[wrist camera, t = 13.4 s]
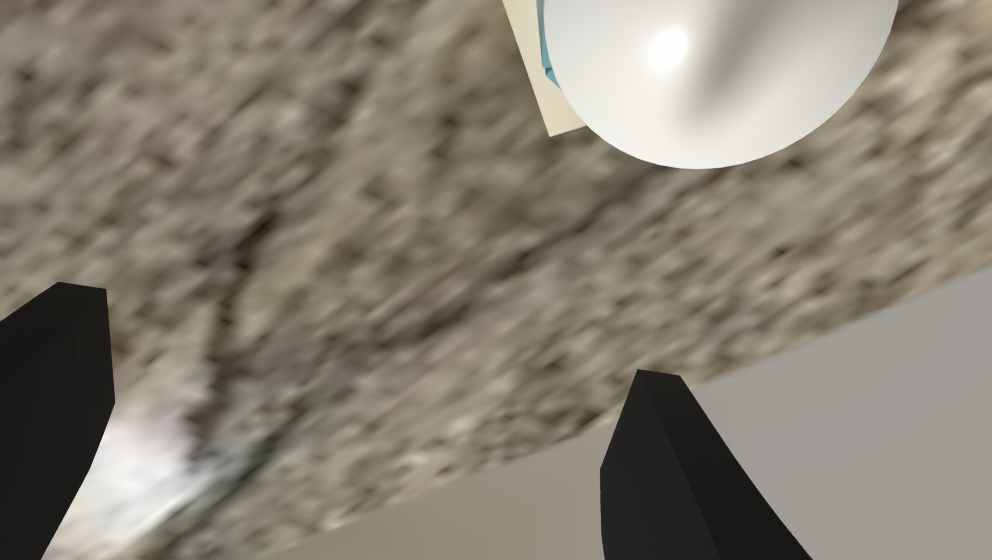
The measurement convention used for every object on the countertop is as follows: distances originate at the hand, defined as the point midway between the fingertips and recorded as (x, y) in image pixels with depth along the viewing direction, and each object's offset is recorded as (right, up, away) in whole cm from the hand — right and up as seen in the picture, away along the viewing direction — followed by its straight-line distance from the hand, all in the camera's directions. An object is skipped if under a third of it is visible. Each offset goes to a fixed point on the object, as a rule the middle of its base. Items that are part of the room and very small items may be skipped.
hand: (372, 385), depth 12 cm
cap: (+5, +8, +5) cm, 11 cm away
